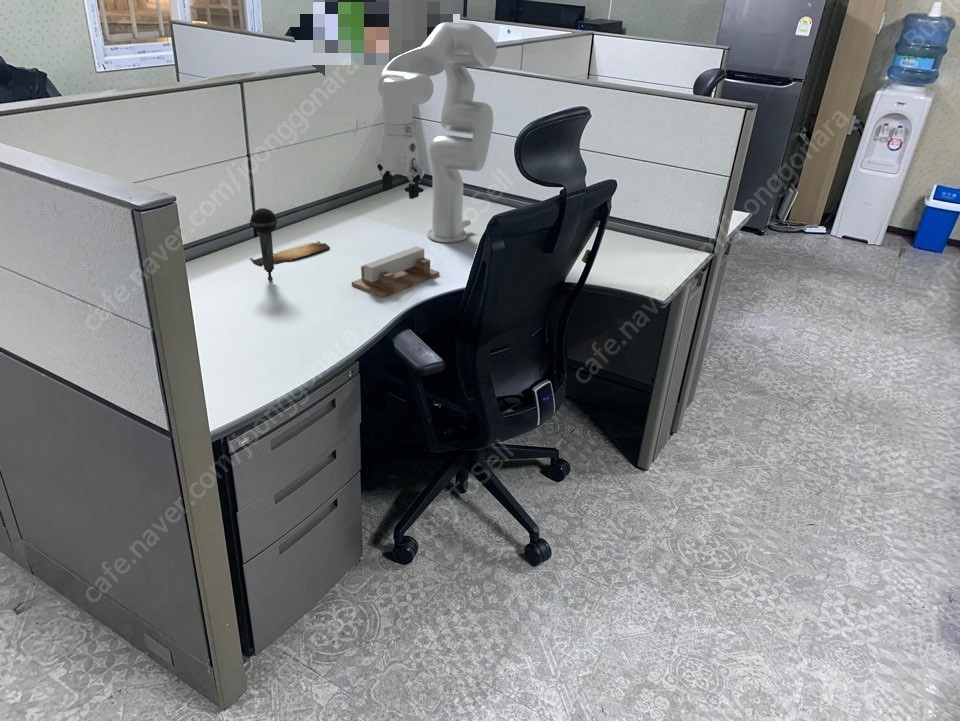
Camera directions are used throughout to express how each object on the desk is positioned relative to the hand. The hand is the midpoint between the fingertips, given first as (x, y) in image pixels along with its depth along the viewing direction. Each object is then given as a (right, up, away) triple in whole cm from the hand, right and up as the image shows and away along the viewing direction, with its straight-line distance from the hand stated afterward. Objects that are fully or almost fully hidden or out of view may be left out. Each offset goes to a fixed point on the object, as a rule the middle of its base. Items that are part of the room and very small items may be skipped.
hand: (400, 193), depth 194 cm
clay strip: (-2, -20, +3) cm, 21 cm away
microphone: (-35, -24, +1) cm, 43 cm away
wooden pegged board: (-2, -23, +5) cm, 23 cm away
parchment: (-34, -14, +20) cm, 42 cm away
